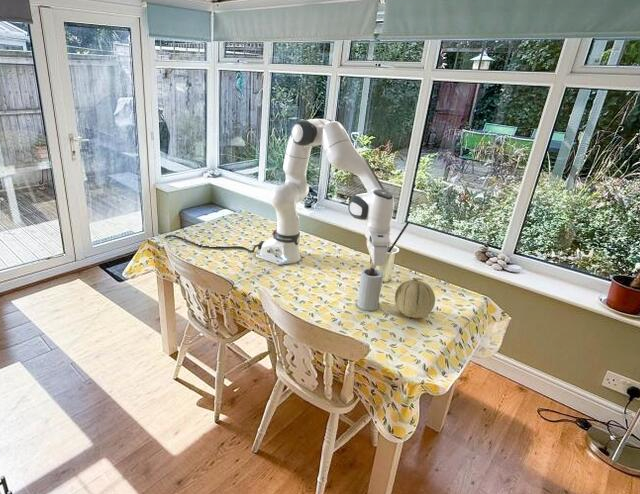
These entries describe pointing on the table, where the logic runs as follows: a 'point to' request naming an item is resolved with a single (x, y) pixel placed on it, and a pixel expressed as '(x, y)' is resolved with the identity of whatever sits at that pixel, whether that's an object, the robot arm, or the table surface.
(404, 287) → the cantaloupe
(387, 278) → the glass
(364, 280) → the grey hollow cylinder
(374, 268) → the brown pestle
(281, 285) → the table surface
